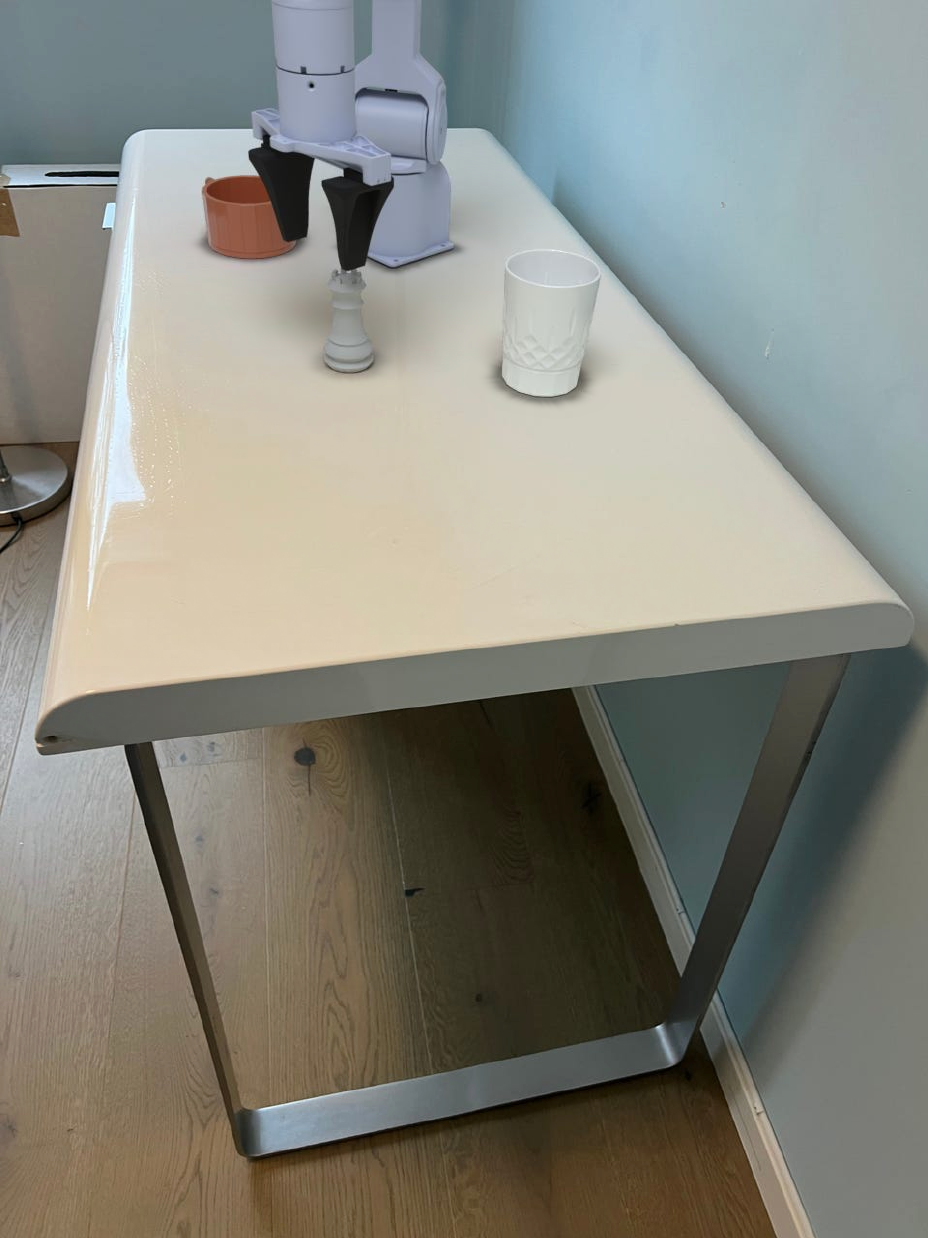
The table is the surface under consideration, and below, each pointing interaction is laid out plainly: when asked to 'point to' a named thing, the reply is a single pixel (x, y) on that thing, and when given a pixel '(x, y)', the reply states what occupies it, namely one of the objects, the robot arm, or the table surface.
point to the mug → (241, 218)
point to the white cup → (547, 319)
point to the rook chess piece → (347, 325)
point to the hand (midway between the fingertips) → (323, 252)
